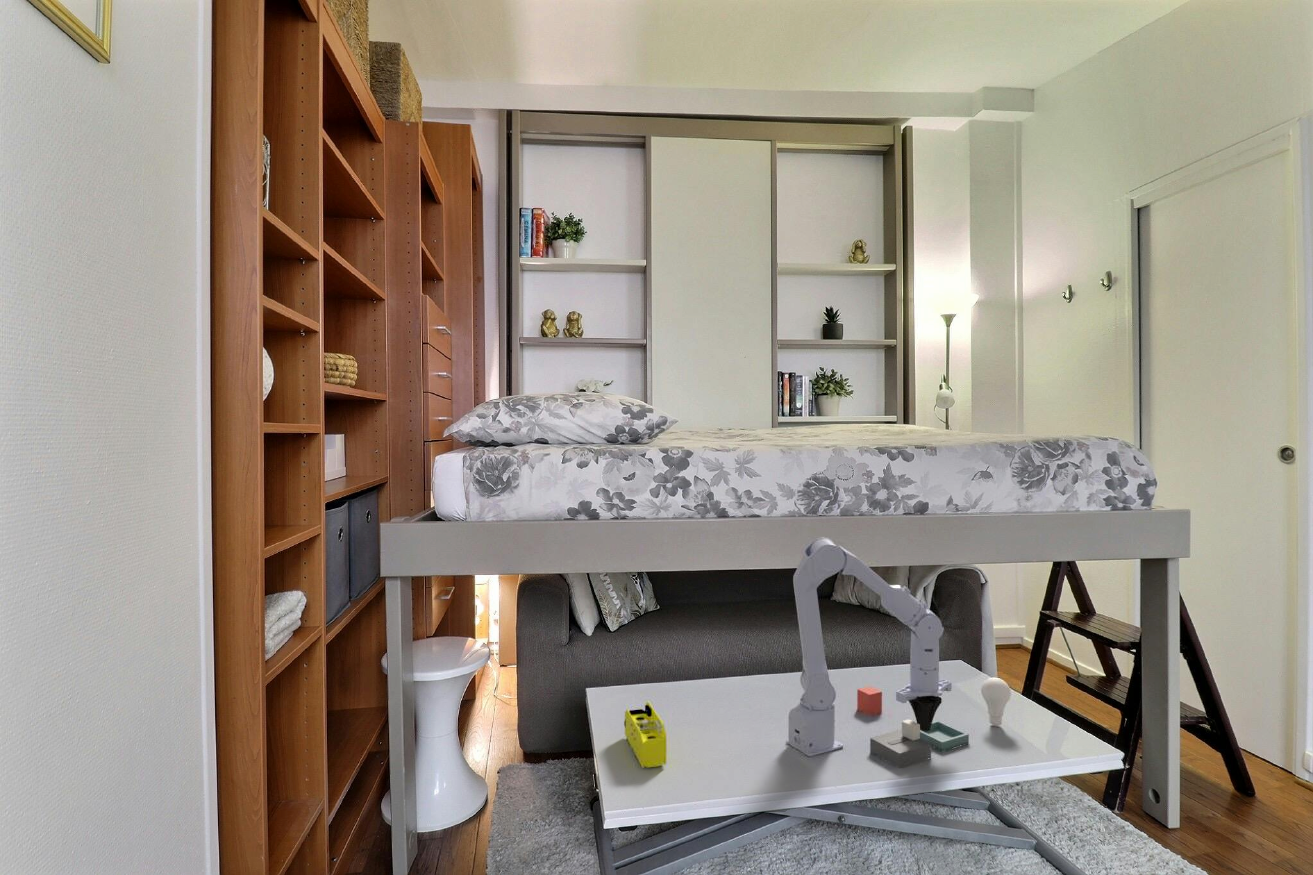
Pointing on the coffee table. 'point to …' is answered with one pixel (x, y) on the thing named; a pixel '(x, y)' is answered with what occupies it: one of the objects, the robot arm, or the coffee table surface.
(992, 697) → the lightbulb
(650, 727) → the yellow parts caddy
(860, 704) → the block
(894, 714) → the coffee table surface
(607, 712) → the coffee table surface
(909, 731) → the switch
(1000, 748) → the coffee table surface
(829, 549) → the robot arm
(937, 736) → the tray
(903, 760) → the grey flat block
